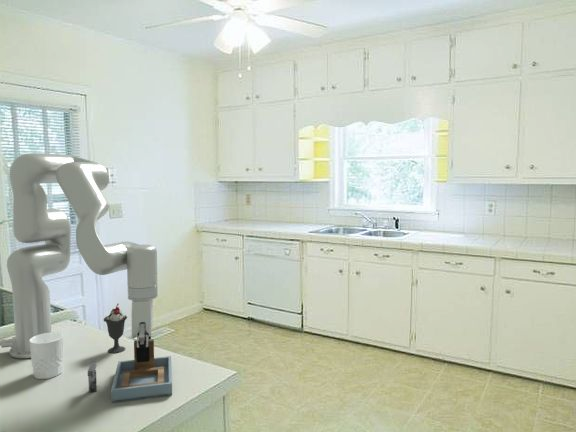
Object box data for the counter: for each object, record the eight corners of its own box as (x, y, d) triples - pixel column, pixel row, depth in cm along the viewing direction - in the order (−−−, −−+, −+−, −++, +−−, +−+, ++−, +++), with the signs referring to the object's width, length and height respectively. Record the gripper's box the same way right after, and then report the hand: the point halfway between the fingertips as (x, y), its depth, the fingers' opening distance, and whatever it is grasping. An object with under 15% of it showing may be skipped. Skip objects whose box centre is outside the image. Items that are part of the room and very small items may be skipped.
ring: (125, 372, 116) (124, 341, 116) (163, 367, 119) (163, 337, 118) (121, 394, 104) (120, 361, 104) (164, 389, 107) (163, 356, 106)
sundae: (120, 355, 128) (118, 306, 127) (100, 353, 130) (98, 304, 128) (132, 346, 135) (131, 299, 133) (113, 344, 136) (111, 298, 135)
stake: (87, 396, 105) (86, 371, 104) (90, 386, 110) (89, 362, 109) (95, 395, 105) (94, 370, 105) (98, 385, 110) (97, 362, 109)
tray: (111, 402, 102) (111, 390, 102) (118, 372, 118) (118, 361, 117) (172, 395, 106) (171, 383, 105) (171, 366, 121) (171, 356, 121)
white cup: (71, 369, 119) (69, 334, 118) (46, 382, 111) (45, 345, 110) (49, 365, 121) (47, 330, 120) (24, 377, 114) (22, 341, 113)
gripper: (130, 284, 122) (131, 343, 124) (124, 302, 105) (126, 369, 107) (158, 282, 124) (159, 340, 126) (156, 300, 107) (158, 366, 109)
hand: (144, 353), depth 116 cm, fingers open, 9 cm apart
